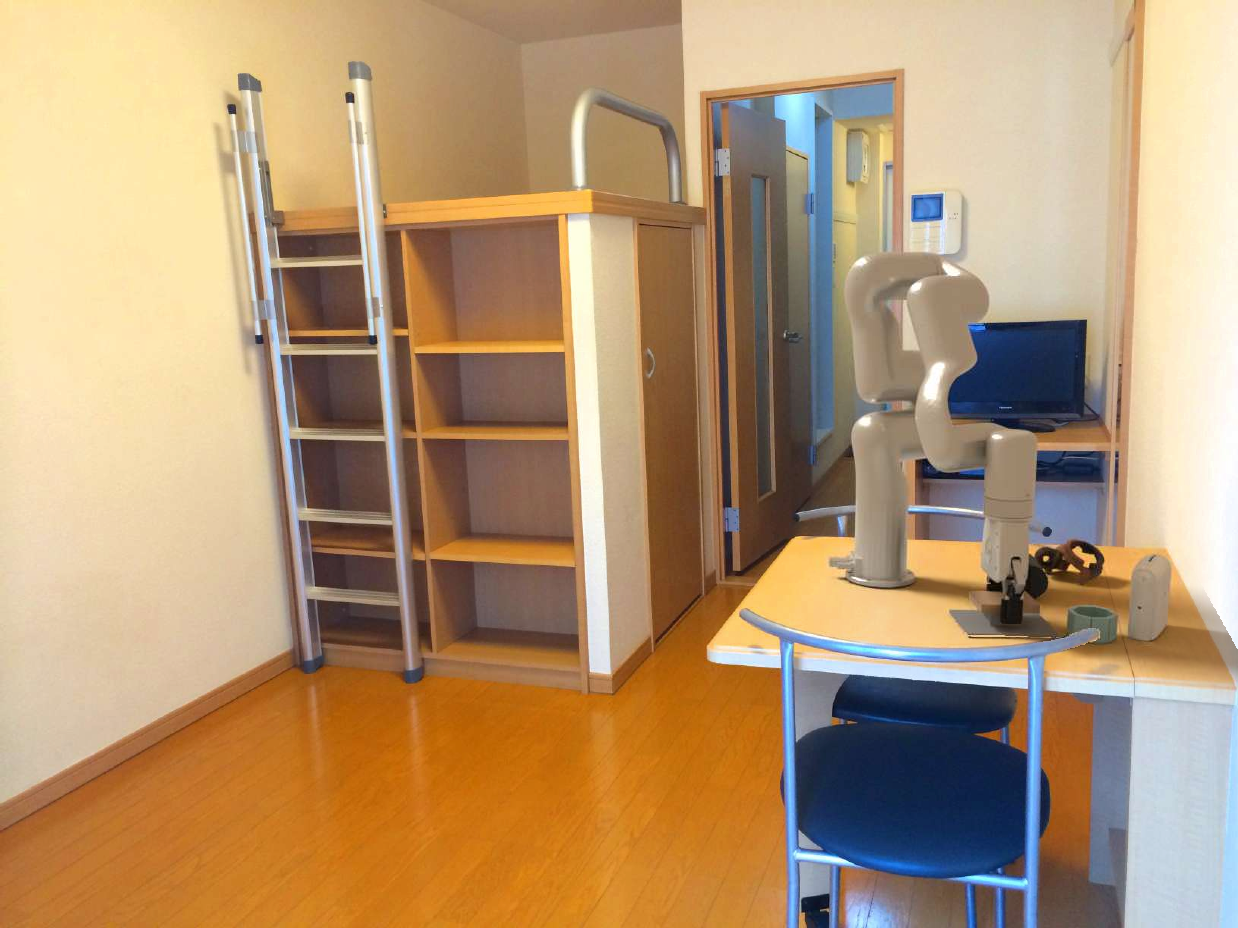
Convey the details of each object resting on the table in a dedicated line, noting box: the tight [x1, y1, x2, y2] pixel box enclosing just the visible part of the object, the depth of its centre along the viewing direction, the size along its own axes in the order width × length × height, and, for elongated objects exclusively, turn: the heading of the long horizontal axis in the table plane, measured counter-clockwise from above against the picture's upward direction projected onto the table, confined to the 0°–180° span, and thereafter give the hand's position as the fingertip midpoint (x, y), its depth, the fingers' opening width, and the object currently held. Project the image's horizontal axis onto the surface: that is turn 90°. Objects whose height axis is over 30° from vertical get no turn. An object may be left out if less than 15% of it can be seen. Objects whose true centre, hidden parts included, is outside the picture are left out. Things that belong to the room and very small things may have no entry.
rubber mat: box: [948, 609, 1061, 639], centre depth 164 cm, size 14×12×3 cm
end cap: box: [1006, 553, 1050, 601], centre depth 179 cm, size 10×7×7 cm
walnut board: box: [968, 590, 1041, 614], centre depth 163 cm, size 9×7×1 cm
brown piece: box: [1033, 538, 1105, 586], centre depth 189 cm, size 12×10×8 cm
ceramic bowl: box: [1066, 604, 1119, 645], centre depth 158 cm, size 7×7×4 cm
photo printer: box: [1127, 553, 1172, 642], centre depth 159 cm, size 10×4×12 cm, turn 140°
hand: (1003, 614), depth 164 cm, fingers closed on walnut board, 7 cm apart
